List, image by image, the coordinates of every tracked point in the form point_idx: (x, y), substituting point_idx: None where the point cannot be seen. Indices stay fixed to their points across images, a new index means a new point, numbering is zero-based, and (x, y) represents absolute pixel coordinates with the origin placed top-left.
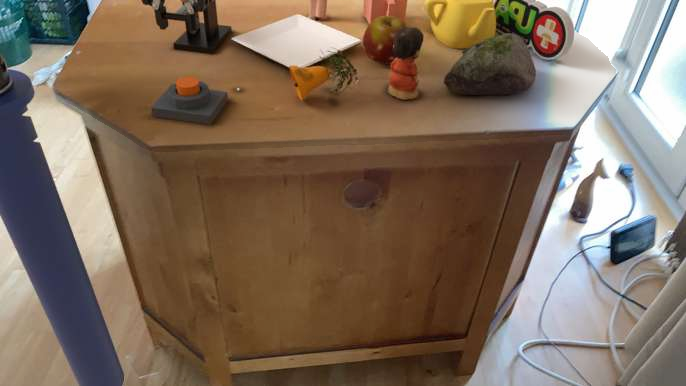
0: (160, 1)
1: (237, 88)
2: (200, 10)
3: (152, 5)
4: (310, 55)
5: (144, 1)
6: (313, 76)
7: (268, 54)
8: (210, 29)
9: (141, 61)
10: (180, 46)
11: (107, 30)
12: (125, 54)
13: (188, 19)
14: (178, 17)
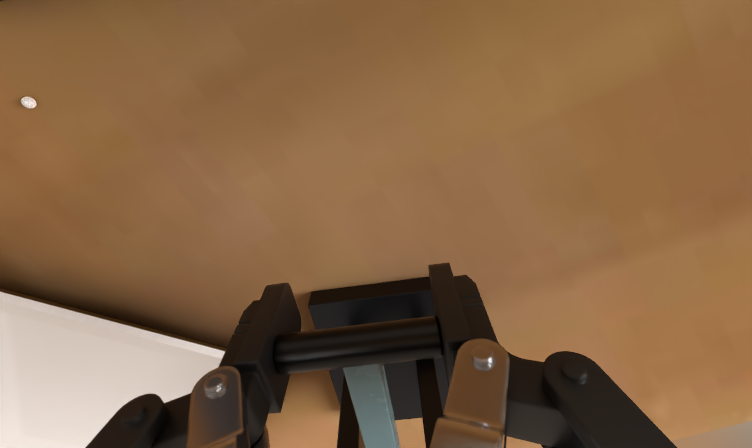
0: (446, 405)
1: (26, 101)
2: (138, 404)
3: (506, 360)
4: (38, 373)
5: (579, 373)
6: None
7: (95, 327)
8: (344, 379)
9: (516, 154)
10: (424, 285)
11: (733, 298)
12: (602, 178)
13: (260, 335)
14: (338, 338)
